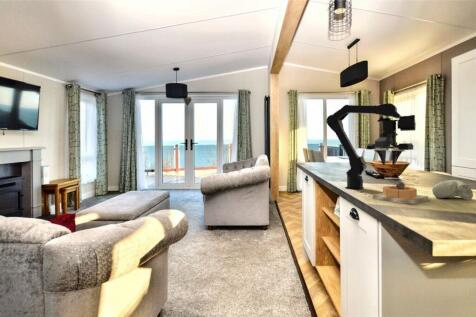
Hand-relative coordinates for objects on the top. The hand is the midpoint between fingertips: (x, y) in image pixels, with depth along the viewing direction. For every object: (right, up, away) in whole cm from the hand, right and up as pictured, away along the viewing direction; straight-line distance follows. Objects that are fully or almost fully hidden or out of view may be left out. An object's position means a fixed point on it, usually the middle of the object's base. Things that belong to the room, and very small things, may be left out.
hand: (388, 165), depth 129 cm
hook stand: (-5, -13, -17) cm, 22 cm away
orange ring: (-5, -12, -17) cm, 21 cm away
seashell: (+16, -13, -17) cm, 27 cm away
